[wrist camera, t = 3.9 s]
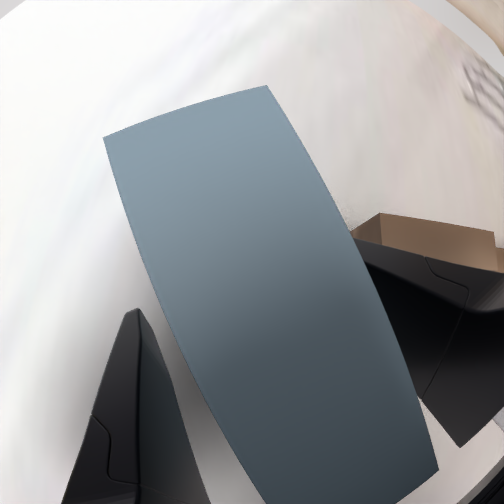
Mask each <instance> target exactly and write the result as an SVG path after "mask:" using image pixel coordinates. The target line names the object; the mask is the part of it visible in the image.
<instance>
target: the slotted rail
mask: <svg viewBox="0 0 504 504" xmlns="http://www.w3.org/2000/svg"><path fill="white" fill-rule="evenodd" d="M350 234H351V236H352V237H353V238H357V239H361V240H365V241H369V242H373V243H377V244H381V245H385V246H389V247H393V248H397V249H401V250H405V251H409V252H412V253H416V254H420V255H423V256H424V257H425V256H428V257H432V258H435V259H439V260H443V261H447V262H451V263H456V264H461V265H465V266H470V267H475V268H480V269H485V270H491V271H496V272H500V273H504V249H503V248H496V246H495V238H494V232H491V231H486V230H481V229H476V228H470V227H465V226H459V225H454V224H448V223H442V222H436V221H430V220H424V219H417V218H411V217H405V216H398V215H391V214H384V213H379V214H377V215H376V216H374V217H373V218H371V219H369V220H368V221H366V222H365V223H363V224H362V225H360V226H358V227H357V228H355V229H354V230H352V231H351V232H350Z"/></svg>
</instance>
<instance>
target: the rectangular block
mask: <svg viewBox="0 0 504 504" xmlns="http://www.w3.org/2000/svg"><path fill="white" fill-rule="evenodd" d="M103 140H104V143H105V147H106V151H107V154H108V158H109V161H110V165H111V168H112V171H113V175H114V178H115V181H116V184H117V188H118V191H119V194H120V197H121V200H122V203H123V206H124V209H125V212H126V215H127V218H128V221H129V224H130V227H131V230H132V233H133V235H134V238H135V241H136V244H137V246H138V249H139V252H140V254H141V257H142V260H143V262H144V265H145V268H146V270H147V273H148V275H149V278H150V280H151V283H152V285H153V288H154V290H155V293H156V295H157V298H158V300H159V302H160V305H161V307H162V309H163V312H164V314H165V316H166V319H167V321H168V323H169V326H170V328H171V330H172V332H173V335H174V337H175V339H176V341H177V343H178V346H179V348H180V350H181V352H182V354H183V356H184V358H185V360H186V363H187V365H188V367H189V369H190V371H191V373H192V375H193V377H194V379H195V381H196V383H197V385H198V387H199V389H200V391H201V393H202V395H203V397H204V399H205V401H206V403H207V404H208V406H209V408H210V410H211V412H212V414H213V416H214V418H215V419H216V421H217V423H218V425H219V427H220V429H221V430H222V432H223V434H224V436H225V437H226V439H227V441H228V443H229V444H230V446H231V448H232V450H233V451H234V453H235V455H236V456H237V458H238V460H239V462H240V463H241V465H242V467H243V468H244V470H245V471H246V473H247V475H248V476H249V478H250V480H251V481H252V483H253V484H254V486H255V487H256V489H257V491H258V492H259V494H260V495H261V497H262V498H263V500H264V501H265V503H266V504H396V503H397V502H399V501H400V500H401V499H403V498H404V497H406V496H407V495H408V494H410V493H411V492H412V491H414V490H415V489H416V488H418V487H419V486H420V485H421V484H423V483H424V482H425V481H427V480H428V479H429V478H430V477H431V476H433V475H434V474H435V473H436V472H437V471H439V468H438V464H437V460H436V457H435V453H434V449H433V446H432V442H431V439H430V435H429V432H428V428H427V425H426V422H425V419H424V415H423V412H422V409H421V406H420V403H419V400H418V397H417V394H416V391H415V388H414V385H413V382H412V379H411V377H410V374H409V371H408V368H407V365H406V363H405V360H404V357H403V355H402V352H401V349H400V347H399V344H398V341H397V339H396V336H395V334H394V331H393V329H392V326H391V324H390V321H389V319H388V316H387V314H386V312H385V309H384V307H383V304H382V302H381V300H380V297H379V295H378V293H377V290H376V288H375V286H374V284H373V281H372V279H371V277H370V275H369V272H368V270H367V268H366V266H365V264H364V261H363V259H362V257H361V255H360V253H359V251H358V249H357V246H356V244H355V242H354V240H353V238H352V236H351V234H350V232H349V230H348V228H347V226H346V224H345V222H344V220H343V218H342V216H341V214H340V212H339V210H338V208H337V206H336V204H335V202H334V200H333V198H332V196H331V195H330V193H329V191H328V189H327V187H326V185H325V183H324V181H323V179H322V178H321V176H320V174H319V172H318V170H317V169H316V167H315V165H314V163H313V161H312V160H311V158H310V156H309V154H308V152H307V151H306V149H305V147H304V145H303V144H302V142H301V140H300V139H299V137H298V135H297V133H296V132H295V130H294V128H293V127H292V125H291V123H290V122H289V120H288V118H287V117H286V115H285V113H284V112H283V110H282V109H281V107H280V105H279V104H278V102H277V101H276V99H275V97H274V96H273V94H272V93H271V91H270V90H269V88H268V86H267V85H265V86H261V87H256V88H252V89H248V90H244V91H240V92H236V93H232V94H228V95H224V96H221V97H217V98H213V99H210V100H207V101H203V102H200V103H196V104H193V105H190V106H187V107H184V108H181V109H177V110H174V111H171V112H169V113H166V114H163V115H160V116H157V117H154V118H151V119H149V120H146V121H143V122H141V123H138V124H135V125H133V126H130V127H128V128H125V129H123V130H120V131H118V132H115V133H113V134H110V135H108V136H106V137H103Z"/></svg>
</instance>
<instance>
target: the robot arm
mask: <svg viewBox="0 0 504 504" xmlns="http://www.w3.org/2000/svg"><path fill="white" fill-rule="evenodd" d="M352 238H353V237H352ZM353 240H354V242H355V244H356V246H357V249H358V251H359V253H360V255H361V257H362V259H363V261H364V264H365V266H366V268H367V270H368V272H369V275H370V277H371V279H372V281H373V284H374V286H375V288H376V290H377V293H378V295H379V297H380V300H381V302H382V304H383V307H384V309H385V312H386V314H387V316H388V319H389V321H390V324H391V326H392V329H393V331H394V334H395V336H396V339H397V341H398V344H399V347H400V349H401V352H402V355H403V357H404V360H405V363H406V365H407V368H408V371H409V374H410V377H411V379H412V382H413V385H414V388H415V391H416V394H417V396H418V397H419V398H420V399H422V400H421V401H422V402H423V403H424V405H425V406H426V407H427V408H428V410H429V411H430V412H431V413H432V414H433V416H434V417H435V418H436V419H437V421H438V422H439V423H440V424H441V426H442V427H443V428H444V429H445V431H446V432H447V433H448V434H449V436H450V437H451V438H452V440H453V441H454V442H455V443H456V445H457V446H458V447H459V448H461V447H462V446H463V445H465V444H466V443H467V442H468V441H469V440H470V439H471V438H472V437H474V436H475V435H476V434H477V433H478V432H479V431H480V430H481V429H482V428H483V427H484V426H485V425H486V424H487V423H488V422H489V421H490V420H491V419H493V420H494V422H495V423H496V424H497V425H498V426H499V427H500V428H501V429H502V430H503V432H504V273H500V272H496V271H491V270H485V269H480V268H475V267H470V266H465V265H461V264H456V263H451V262H447V261H443V260H439V259H435V258H432V257H428V256H425V257H424V256H423V255H420V254H416V253H412V252H409V251H405V250H401V249H397V248H393V247H389V246H385V245H381V244H377V243H373V242H369V241H365V240H361V239H357V238H353ZM91 414H92V415H91V416H90V419H89V422H88V426H87V429H86V432H85V435H84V439H83V442H82V445H81V448H80V451H79V454H78V457H77V460H76V462H75V465H74V468H73V471H72V473H71V476H70V479H69V482H68V485H67V488H66V491H65V494H64V497H63V500H62V502H61V504H211V503H210V500H209V498H208V495H207V492H206V490H205V487H204V484H203V481H202V479H201V476H200V473H199V470H198V467H197V464H196V461H195V458H194V455H193V452H192V449H191V446H190V443H189V440H188V437H187V433H186V430H185V427H184V423H183V420H182V417H181V413H180V410H179V406H178V403H177V399H176V395H175V392H174V388H173V384H172V381H171V378H170V375H169V372H168V370H167V367H166V364H165V362H164V359H163V357H162V354H161V351H160V348H159V346H158V343H157V340H156V337H155V335H154V332H153V330H152V328H151V326H150V325H149V323H148V321H147V320H146V318H145V316H144V315H143V313H142V311H141V310H140V309H139V308H136V309H134V310H131V311H129V312H127V313H126V314H125V315H124V318H123V320H122V323H121V326H120V328H119V331H118V334H117V337H116V339H115V342H114V345H113V348H112V350H111V353H110V356H109V359H108V362H107V365H106V368H105V371H104V374H103V377H102V380H101V383H100V386H99V389H98V392H97V396H96V399H95V402H94V405H93V409H92V412H91ZM457 504H504V456H503V457H502V459H501V460H500V461H499V462H498V463H497V464H496V465H495V466H494V467H493V469H492V470H491V471H490V472H489V473H488V474H487V475H486V476H485V477H484V478H483V479H482V480H481V481H480V482H479V483H478V484H477V485H476V486H475V487H474V488H473V489H472V490H471V491H470V492H469V493H468V494H467V495H466V496H465V497H464V498H462V499H461V500H460V501H459V502H458V503H457Z"/></svg>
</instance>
